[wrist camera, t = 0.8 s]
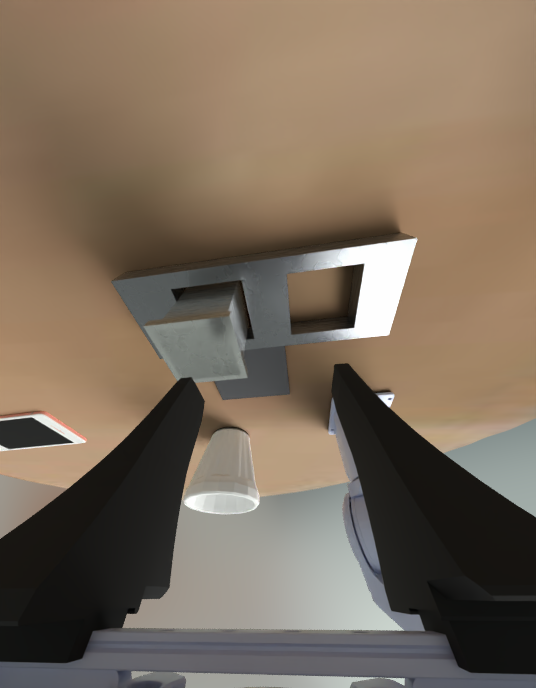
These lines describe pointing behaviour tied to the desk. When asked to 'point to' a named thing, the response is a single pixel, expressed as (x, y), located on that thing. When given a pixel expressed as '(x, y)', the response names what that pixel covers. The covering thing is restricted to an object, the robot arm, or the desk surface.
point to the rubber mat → (259, 375)
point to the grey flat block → (285, 289)
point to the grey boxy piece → (204, 333)
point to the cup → (224, 476)
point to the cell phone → (35, 431)
